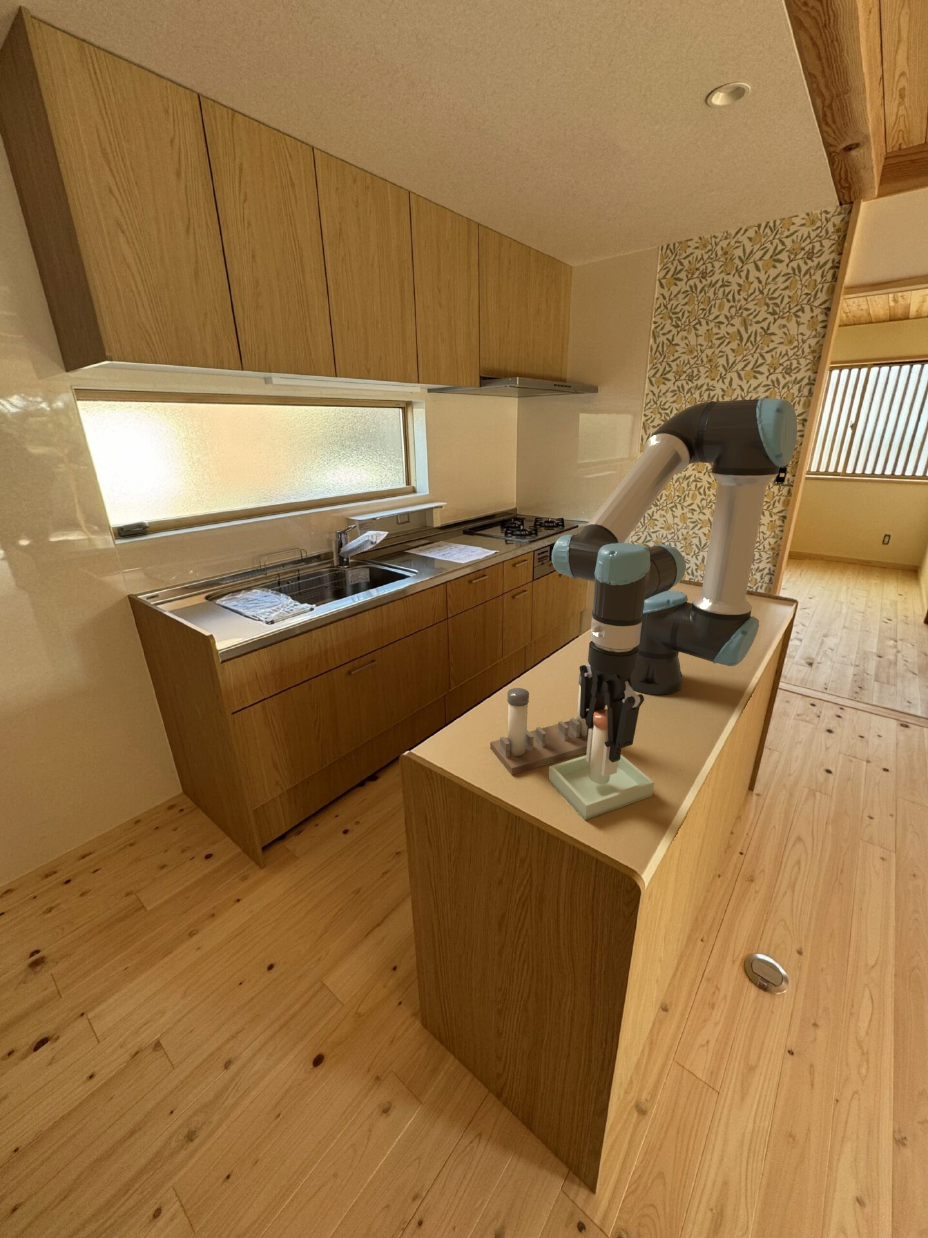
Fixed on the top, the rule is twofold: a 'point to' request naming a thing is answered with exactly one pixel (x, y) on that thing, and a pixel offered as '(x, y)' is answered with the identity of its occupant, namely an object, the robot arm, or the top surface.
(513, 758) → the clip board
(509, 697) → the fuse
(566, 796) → the tray
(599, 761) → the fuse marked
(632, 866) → the top surface
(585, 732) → the fuse
